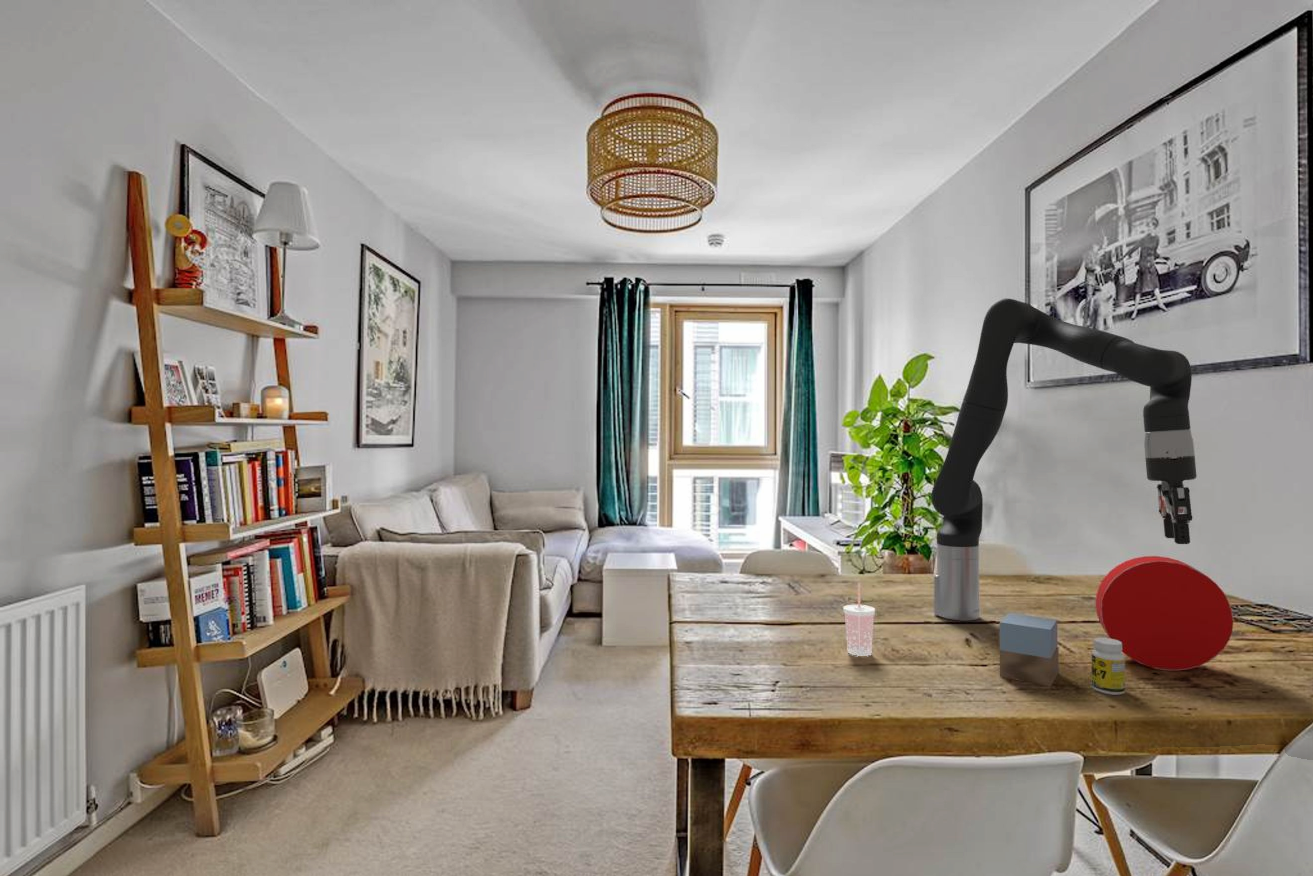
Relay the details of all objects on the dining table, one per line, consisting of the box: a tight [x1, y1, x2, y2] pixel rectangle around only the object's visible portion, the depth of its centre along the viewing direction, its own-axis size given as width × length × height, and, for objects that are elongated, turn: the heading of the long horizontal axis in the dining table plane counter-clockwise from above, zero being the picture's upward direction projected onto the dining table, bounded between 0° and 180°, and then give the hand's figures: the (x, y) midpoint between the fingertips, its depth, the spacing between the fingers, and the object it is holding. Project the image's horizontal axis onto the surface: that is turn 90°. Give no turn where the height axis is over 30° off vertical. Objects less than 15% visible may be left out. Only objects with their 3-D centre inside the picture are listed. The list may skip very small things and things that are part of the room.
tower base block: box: [999, 646, 1060, 687], centre depth 124 cm, size 8×8×5 cm
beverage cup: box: [842, 582, 876, 657], centre depth 137 cm, size 6×6×14 cm
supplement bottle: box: [1090, 637, 1126, 696], centre depth 117 cm, size 5×5×8 cm
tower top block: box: [999, 612, 1058, 659], centre depth 124 cm, size 8×8×5 cm
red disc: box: [1095, 555, 1234, 671], centre depth 129 cm, size 20×6×20 cm, turn 66°
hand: (1177, 540), depth 130 cm, fingers open, 8 cm apart
